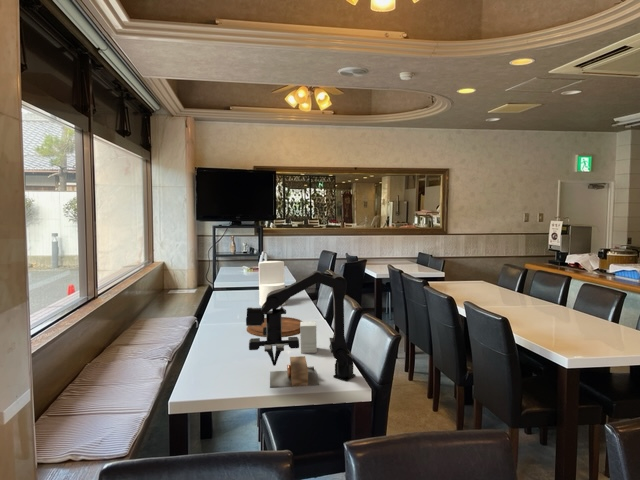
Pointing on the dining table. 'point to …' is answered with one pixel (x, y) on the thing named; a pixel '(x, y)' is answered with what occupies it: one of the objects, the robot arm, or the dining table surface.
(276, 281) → the cylinder
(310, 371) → the pin
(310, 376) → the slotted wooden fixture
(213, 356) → the dining table surface
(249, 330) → the cutting board
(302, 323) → the supplement box
